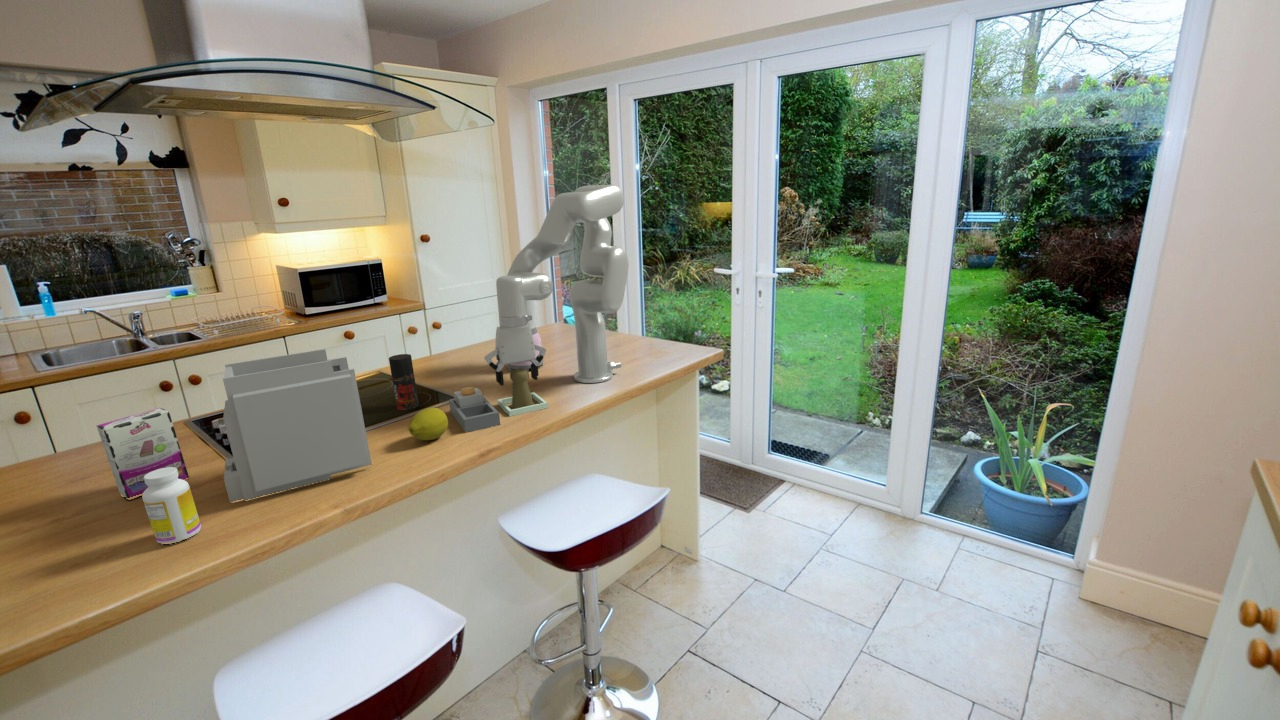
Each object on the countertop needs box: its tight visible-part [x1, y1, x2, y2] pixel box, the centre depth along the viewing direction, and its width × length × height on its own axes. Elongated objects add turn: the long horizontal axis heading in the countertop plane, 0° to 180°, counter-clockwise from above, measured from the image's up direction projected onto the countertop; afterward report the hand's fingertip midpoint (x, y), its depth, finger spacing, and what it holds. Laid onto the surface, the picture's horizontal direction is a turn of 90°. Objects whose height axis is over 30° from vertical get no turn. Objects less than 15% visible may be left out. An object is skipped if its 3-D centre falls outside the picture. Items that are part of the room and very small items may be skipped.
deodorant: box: [388, 353, 419, 411], centre depth 166 cm, size 6×6×15 cm
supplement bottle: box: [141, 467, 202, 544], centre depth 104 cm, size 7×7×13 cm
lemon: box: [408, 407, 449, 441], centre depth 143 cm, size 11×8×8 cm
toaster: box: [222, 348, 373, 503], centre depth 124 cm, size 17×27×26 cm, turn 123°
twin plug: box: [453, 386, 484, 408], centre depth 160 cm, size 6×6×7 cm
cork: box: [509, 368, 534, 410], centre depth 163 cm, size 6×6×11 cm
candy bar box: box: [96, 407, 190, 498], centre depth 123 cm, size 11×5×16 cm, turn 148°
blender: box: [507, 300, 544, 373], centre depth 199 cm, size 16×12×32 cm
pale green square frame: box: [497, 391, 549, 417], centre depth 164 cm, size 11×11×2 cm
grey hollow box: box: [448, 395, 501, 433], centre depth 157 cm, size 18×9×4 cm, turn 30°
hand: (517, 381), depth 162 cm, fingers open, 9 cm apart
